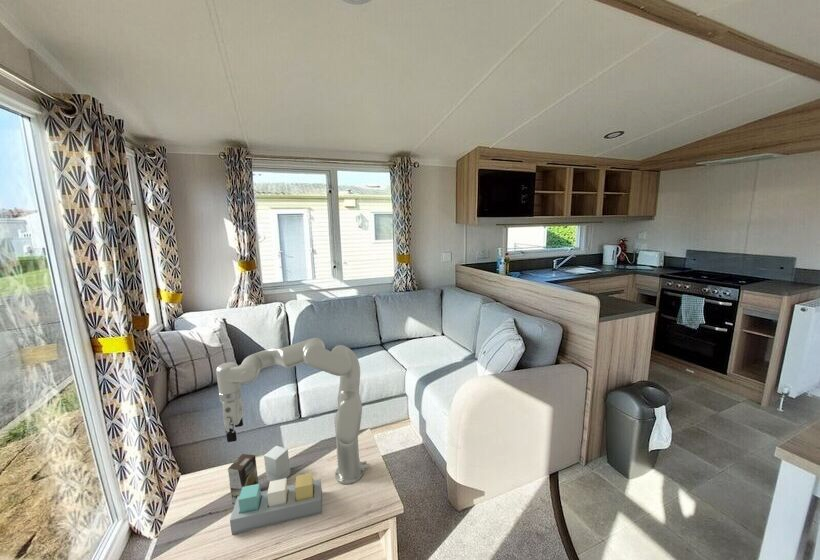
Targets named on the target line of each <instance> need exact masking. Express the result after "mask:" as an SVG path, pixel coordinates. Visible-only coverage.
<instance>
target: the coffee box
mask: <svg viewBox="0 0 820 560" xmlns="http://www.w3.org/2000/svg"><path fill="white" fill-rule="evenodd" d="M257 468H258V467H257V459H256V455H254V454H249V453H248V454H247V453H246V454H245V453H242V454H241V455H240V456H239V457H238V458H237V459H236V460H235V461H234V462H233V463H232V464H231V465H230V466H229V467H228V469H227V472H228V479H229V480H228V481H229V489H230V497H231V503H232V504H235V503H236V500H237V497H238V496H240V493H241V490H242V487H245V486H250V485H255V484H260V483H259V477H258V469H257Z"/></svg>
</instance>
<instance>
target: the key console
mask: <svg viewBox="0 0 820 560" xmlns="http://www.w3.org/2000/svg"><path fill="white" fill-rule="evenodd" d="M295 484H296V483H295ZM295 484H291V485H287V487H288V498H287V503H286V504H282V505H277V506H273V507H269V504H268V496H267V493H268V489H266V490H262V491H261V490H260V491H261V503H260V507H259V510H255V511H250V512H246V513H241V514H240V508H239V501H238V500H239V496H238V497H237V500H236V503H234V506H233V510H232V513H231V516H230V518H229V524H230V530H231V535H237V534H241V533H245V532H249V531H254V530H258V529H263V528H267V527H271V526H274V525H279V524H283V523H287V522H293V521H296V520H301V519H305V518H309V517H314V516H317V515H323V514H322V512H323V510H322V509H323V502H322V500H323V489H322V488H323V487H322V478H319V479H315V480H314V479H313V485H314V494H313V498H309V499H304V500H300V501H296V492H295Z"/></svg>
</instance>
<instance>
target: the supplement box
mask: <svg viewBox="0 0 820 560" xmlns="http://www.w3.org/2000/svg"><path fill="white" fill-rule="evenodd" d="M263 461H264V467H265V474H266V481H268V482H270V481H275V480H280V479H284V478H288V477H289V476H290V475H291V468H290V467H291V466H290V458H289V450H288V448H285V447H282V446H280V445H279V446H278V445H275V446H274V447H273V448H271V449H270V450H269V451H268V452H267V453H265V454H264V455H263Z"/></svg>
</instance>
